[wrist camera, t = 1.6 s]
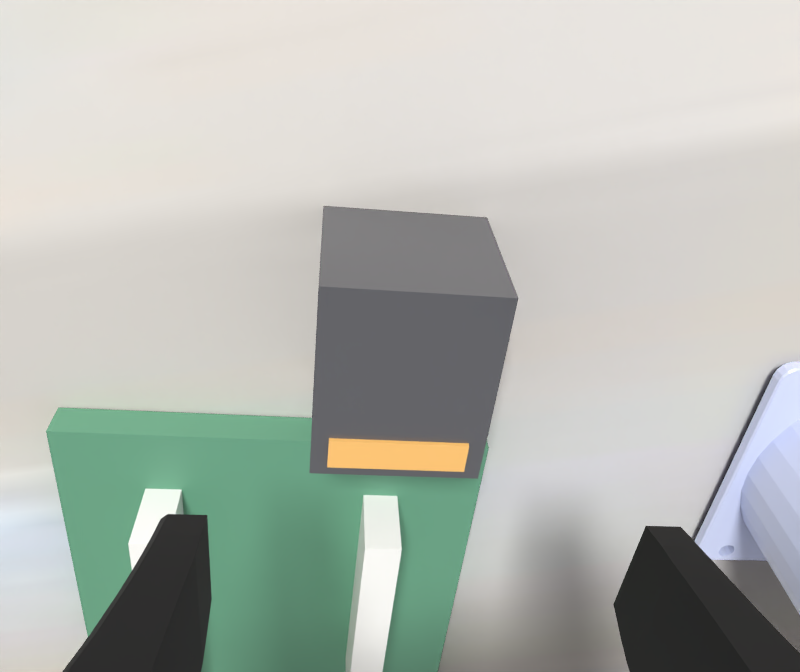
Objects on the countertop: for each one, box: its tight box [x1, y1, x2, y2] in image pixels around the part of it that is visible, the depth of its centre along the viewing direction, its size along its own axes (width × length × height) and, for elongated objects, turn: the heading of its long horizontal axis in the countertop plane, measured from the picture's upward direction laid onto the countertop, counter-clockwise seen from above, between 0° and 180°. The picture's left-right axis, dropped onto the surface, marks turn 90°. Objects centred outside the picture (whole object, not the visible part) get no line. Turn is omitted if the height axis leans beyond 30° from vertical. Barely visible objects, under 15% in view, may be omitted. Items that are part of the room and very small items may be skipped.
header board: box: [46, 408, 488, 672], centre depth 23 cm, size 12×14×4 cm
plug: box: [309, 206, 518, 479], centre depth 18 cm, size 4×5×4 cm
